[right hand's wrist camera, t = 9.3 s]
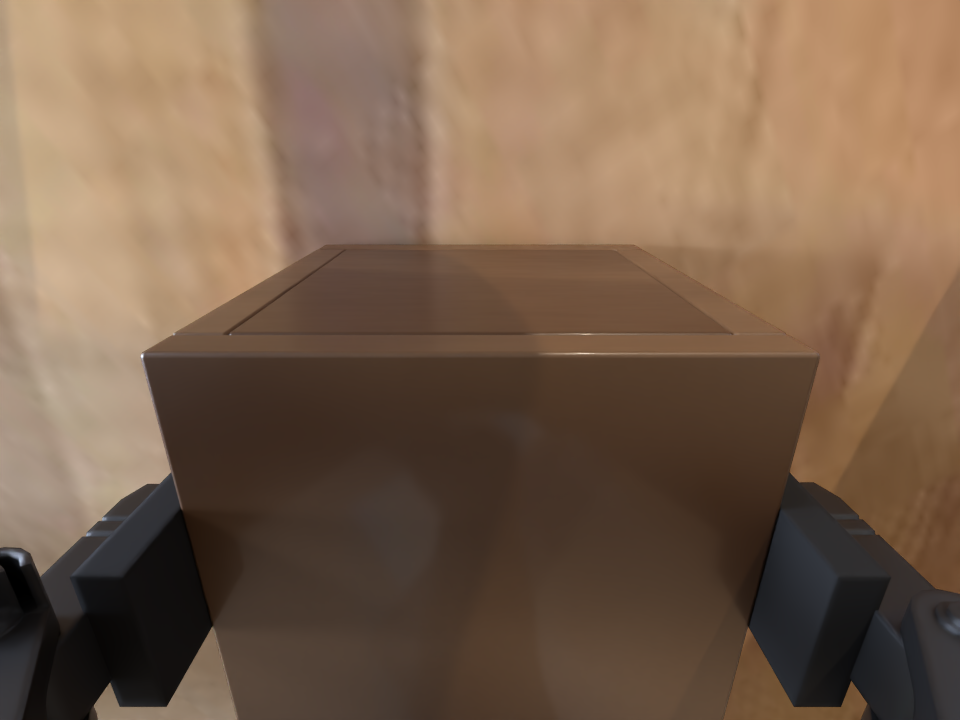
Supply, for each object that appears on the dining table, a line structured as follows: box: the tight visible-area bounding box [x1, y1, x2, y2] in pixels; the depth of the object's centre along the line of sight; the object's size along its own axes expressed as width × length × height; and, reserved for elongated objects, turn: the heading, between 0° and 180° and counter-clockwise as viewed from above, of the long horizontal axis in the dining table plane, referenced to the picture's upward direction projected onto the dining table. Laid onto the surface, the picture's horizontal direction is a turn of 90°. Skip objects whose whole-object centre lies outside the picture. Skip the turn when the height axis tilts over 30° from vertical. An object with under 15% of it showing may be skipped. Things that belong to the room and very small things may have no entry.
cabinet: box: [141, 245, 820, 720], centre depth 16 cm, size 21×10×10 cm, turn 0°
